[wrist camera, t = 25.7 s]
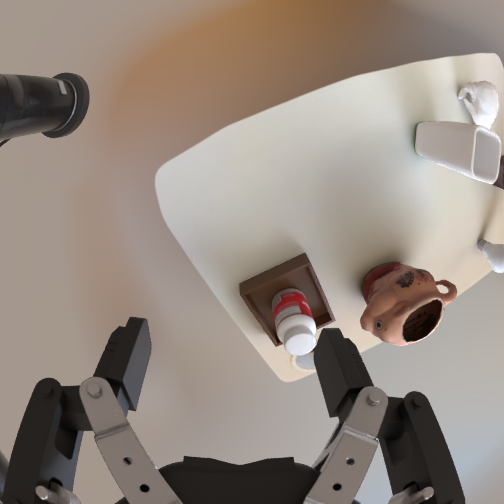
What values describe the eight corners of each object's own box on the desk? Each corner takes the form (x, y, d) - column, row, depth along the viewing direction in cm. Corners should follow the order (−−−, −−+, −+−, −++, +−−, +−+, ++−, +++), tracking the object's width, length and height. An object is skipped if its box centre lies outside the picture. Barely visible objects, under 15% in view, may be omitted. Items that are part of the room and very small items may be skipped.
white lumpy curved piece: (500, 81, 22) (510, 143, 28) (469, 76, 29) (480, 132, 35) (484, 84, 23) (495, 150, 29) (451, 80, 30) (464, 139, 36)
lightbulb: (473, 233, 44) (505, 255, 35) (488, 228, 44) (518, 249, 34) (469, 257, 47) (498, 281, 37) (484, 251, 47) (512, 273, 37)
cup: (437, 163, 38) (497, 186, 24) (408, 157, 37) (469, 177, 24) (441, 125, 34) (502, 136, 21) (411, 115, 34) (475, 122, 21)
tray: (239, 283, 46) (239, 294, 43) (305, 252, 44) (309, 261, 41) (274, 335, 52) (275, 346, 49) (331, 310, 50) (335, 320, 47)
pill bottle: (307, 310, 49) (321, 353, 39) (274, 317, 49) (283, 362, 39) (303, 283, 46) (319, 325, 36) (268, 291, 46) (276, 335, 36)
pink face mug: (428, 233, 44) (473, 268, 31) (429, 281, 49) (465, 320, 37) (338, 273, 46) (369, 324, 34) (350, 320, 51) (375, 370, 39)
